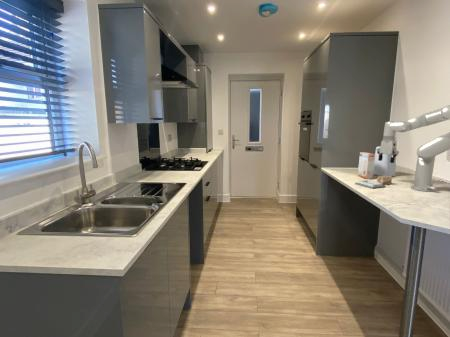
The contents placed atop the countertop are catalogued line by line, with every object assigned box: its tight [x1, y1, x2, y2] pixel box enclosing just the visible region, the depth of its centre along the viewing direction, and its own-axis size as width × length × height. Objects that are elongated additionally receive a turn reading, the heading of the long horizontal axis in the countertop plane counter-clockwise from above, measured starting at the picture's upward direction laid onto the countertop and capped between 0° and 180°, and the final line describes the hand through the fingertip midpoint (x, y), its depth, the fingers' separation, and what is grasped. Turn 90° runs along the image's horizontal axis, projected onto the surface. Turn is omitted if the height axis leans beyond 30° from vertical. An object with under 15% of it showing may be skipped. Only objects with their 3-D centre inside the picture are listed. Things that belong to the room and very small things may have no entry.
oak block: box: [376, 176, 393, 186], centre depth 195 cm, size 4×9×6 cm, turn 109°
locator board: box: [354, 179, 387, 190], centre depth 191 cm, size 15×13×2 cm
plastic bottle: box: [373, 145, 397, 177], centre depth 226 cm, size 15×15×28 cm
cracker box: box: [357, 151, 375, 180], centre depth 217 cm, size 14×6×21 cm, turn 179°
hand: (385, 161), depth 193 cm, fingers open, 9 cm apart
